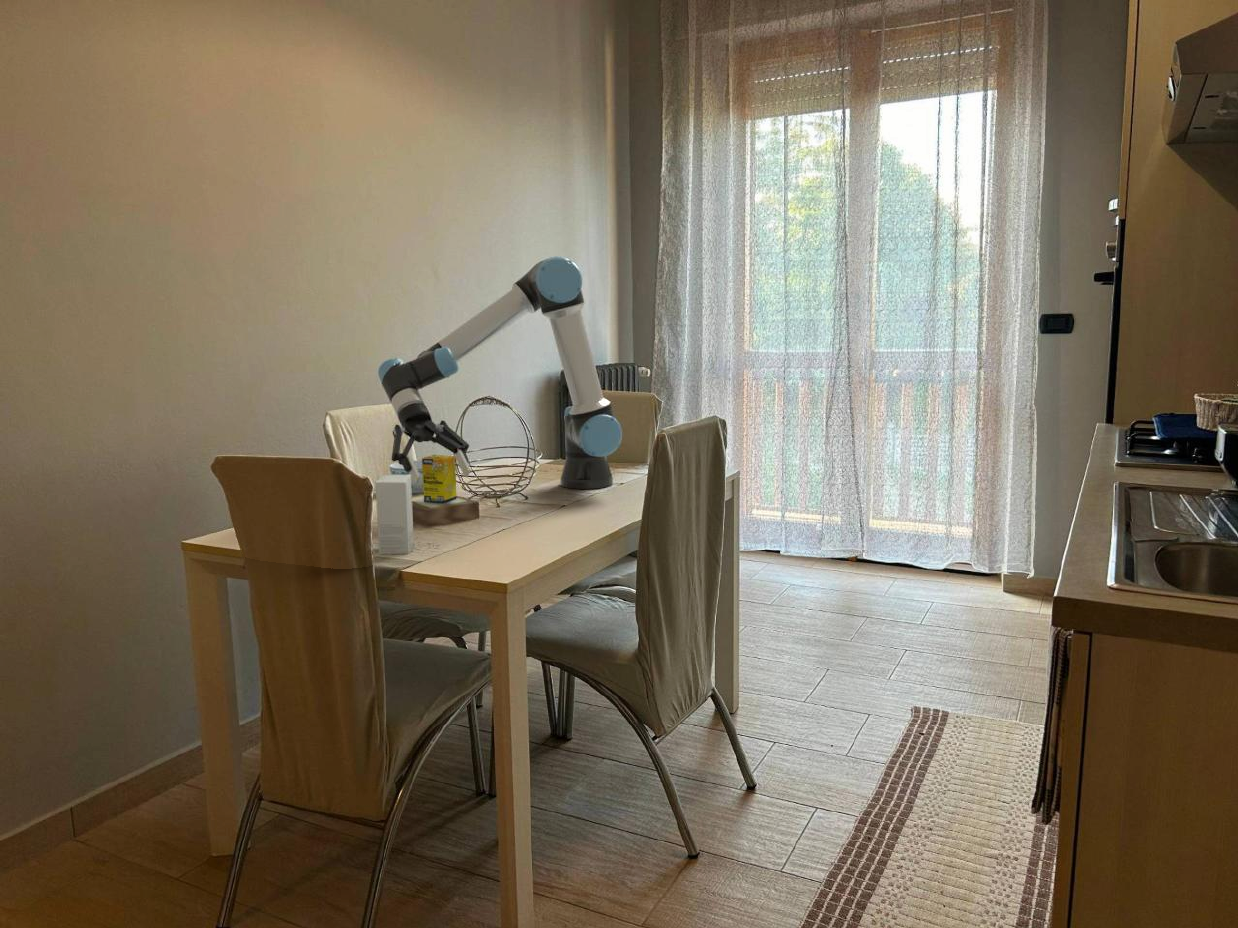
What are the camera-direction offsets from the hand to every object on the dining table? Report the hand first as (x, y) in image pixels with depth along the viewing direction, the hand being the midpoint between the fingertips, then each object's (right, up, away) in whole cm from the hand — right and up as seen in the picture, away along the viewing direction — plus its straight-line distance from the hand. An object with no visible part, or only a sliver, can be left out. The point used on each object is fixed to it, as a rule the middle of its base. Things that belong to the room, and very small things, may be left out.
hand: (443, 477), depth 222 cm
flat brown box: (-1, -10, +3) cm, 11 cm away
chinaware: (-15, -5, +41) cm, 44 cm away
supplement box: (-1, -6, +3) cm, 7 cm away
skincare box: (-5, -15, -27) cm, 31 cm away
